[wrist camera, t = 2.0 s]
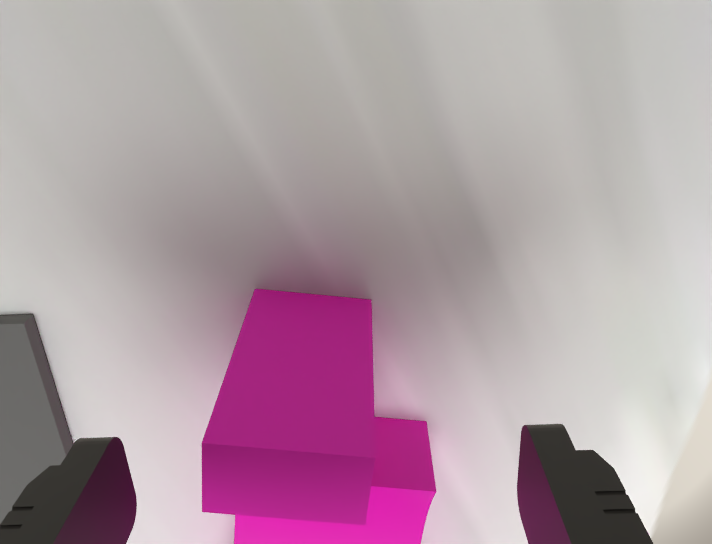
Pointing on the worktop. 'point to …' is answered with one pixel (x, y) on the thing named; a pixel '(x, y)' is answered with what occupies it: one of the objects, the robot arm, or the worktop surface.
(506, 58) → the worktop surface
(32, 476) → the rubber mat
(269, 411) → the magenta pipe clamp
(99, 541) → the robot arm
